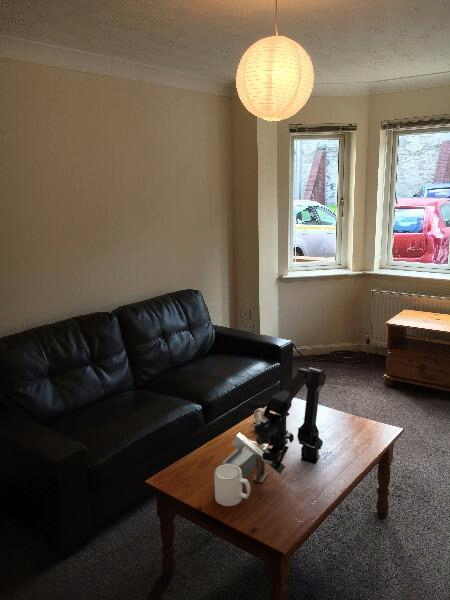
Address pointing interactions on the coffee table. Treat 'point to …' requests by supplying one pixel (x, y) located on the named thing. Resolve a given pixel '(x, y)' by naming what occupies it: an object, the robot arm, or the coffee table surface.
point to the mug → (229, 485)
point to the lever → (254, 451)
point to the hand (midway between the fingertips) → (278, 465)
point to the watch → (258, 417)
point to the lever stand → (260, 469)
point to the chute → (242, 461)
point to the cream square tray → (263, 446)
